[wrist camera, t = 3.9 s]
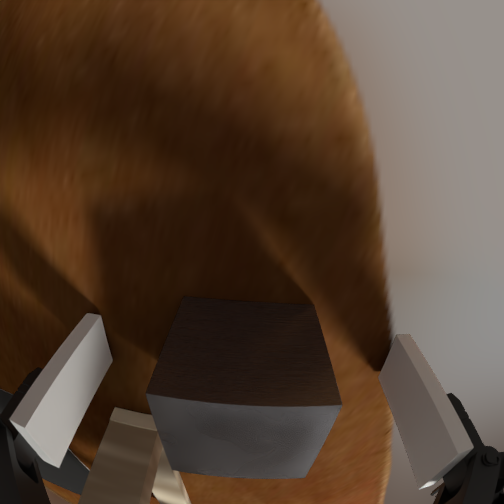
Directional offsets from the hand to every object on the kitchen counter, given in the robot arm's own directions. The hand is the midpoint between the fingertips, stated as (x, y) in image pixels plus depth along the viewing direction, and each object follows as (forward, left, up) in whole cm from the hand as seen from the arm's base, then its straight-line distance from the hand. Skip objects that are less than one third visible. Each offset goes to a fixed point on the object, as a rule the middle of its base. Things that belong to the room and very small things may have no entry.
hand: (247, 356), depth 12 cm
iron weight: (0, 0, 0) cm, 0 cm away
